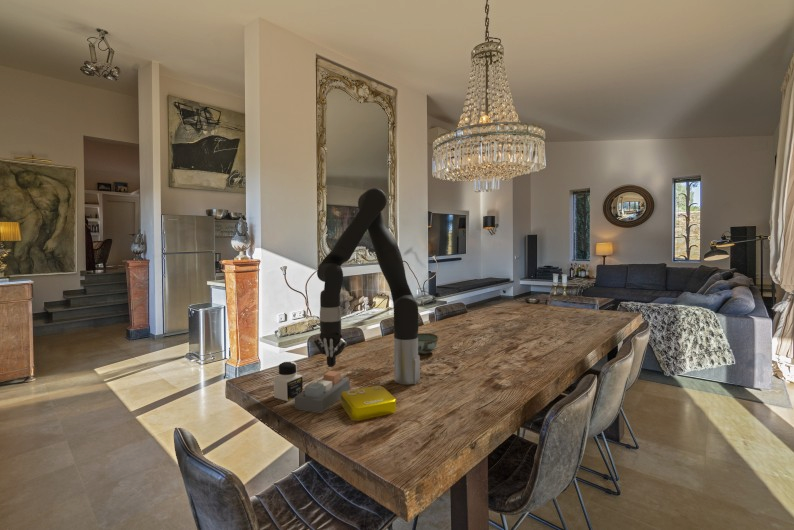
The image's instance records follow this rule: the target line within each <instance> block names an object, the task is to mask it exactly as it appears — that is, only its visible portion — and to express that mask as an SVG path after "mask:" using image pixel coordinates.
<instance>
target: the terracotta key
mask: <svg viewBox="0 0 794 530" xmlns="http://www.w3.org/2000/svg"><path fill="white" fill-rule="evenodd" d="M322 378H323V379H324V380H325V381H332V385H336V384H338V383H339V382H340V378H341V371H336V370H329V371H327V372H325V373H324V374H323V377H322Z"/></svg>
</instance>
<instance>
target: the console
mask: <svg viewBox="0 0 794 530" xmlns="http://www.w3.org/2000/svg"><path fill="white" fill-rule="evenodd" d="M321 380H324V379H323V377H322V378H321V379H319V380H317V381H316V382H315V383H318V382H319V381H321ZM350 386H351V384H350V379H349V378H342V377H340V382H339V383H338V384H336V385H332V388H331V389H330V390H328V391H324V394H323V395H321V396H320V397H319V398H311V397H305V389H304V390H303V392H301V393H300V394H298V395H297V396H295V397H294V398H295V399H294V410H299V411H305V412H310V413H311V412H313V413H319V414H323V413H324V412H325V411H326V410H328V409H329V408H330V407H331V406H332V405H333V404H335V403H336V402H337V401H338V400H339V399H341V393H342V392H344V391H349V390H351V388H350Z"/></svg>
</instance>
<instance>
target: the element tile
mask: <svg viewBox="0 0 794 530" xmlns="http://www.w3.org/2000/svg"><path fill="white" fill-rule="evenodd" d="M340 399H341V400H340V401H341V402H340V405H341V407H342V408H343V410H344V411H345V412H346V414H347V415H348V416H349V418H350V419H351V420H352V421H363V420H368V419H374V418H377V417H381V416H386V415H392V414H395V413H396V412H397V399H396V397H395V396H394V395H392V394H391V393H390V392H389V391H388V390H387V389H386V388H385V387H383V386H381V384H380V385H379V384H378V385H372V386H366V387H361V388H355V389H350V390H349V391H344V392H342V393H341V398H340Z"/></svg>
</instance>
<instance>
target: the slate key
mask: <svg viewBox="0 0 794 530" xmlns="http://www.w3.org/2000/svg"><path fill="white" fill-rule="evenodd" d="M304 390H305V397H311V398H319V397H320V396H321V395H323V394H324V388H323V384H321V383H316V382H313V381H312V382H310V383H308V384H307V385H306V386H304Z"/></svg>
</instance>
